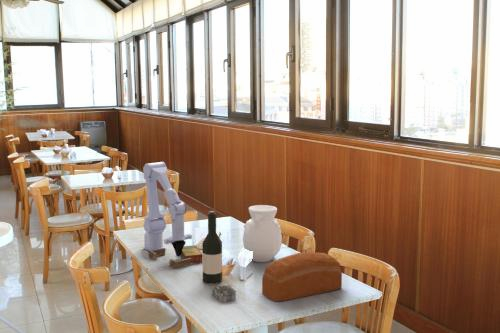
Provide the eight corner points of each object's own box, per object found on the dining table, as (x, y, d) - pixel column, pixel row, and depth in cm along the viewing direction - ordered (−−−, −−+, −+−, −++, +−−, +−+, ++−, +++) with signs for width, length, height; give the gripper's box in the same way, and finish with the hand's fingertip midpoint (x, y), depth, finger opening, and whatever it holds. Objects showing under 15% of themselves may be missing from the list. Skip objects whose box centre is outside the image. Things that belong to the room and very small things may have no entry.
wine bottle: (226, 279, 247) (225, 210, 242) (215, 285, 239) (214, 214, 235) (209, 276, 251) (209, 208, 246) (198, 281, 244) (197, 212, 239)
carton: (185, 264, 267) (185, 255, 266) (179, 254, 282) (179, 246, 282) (202, 262, 269) (202, 253, 269) (195, 252, 285) (195, 244, 284)
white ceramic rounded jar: (275, 267, 263) (275, 213, 259) (237, 262, 268) (237, 210, 265) (286, 255, 280) (286, 205, 276) (250, 251, 286) (250, 202, 282)
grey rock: (210, 294, 231) (209, 284, 230) (227, 291, 234) (227, 281, 233) (220, 303, 221) (220, 293, 220) (238, 300, 224) (238, 290, 224)
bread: (258, 292, 232) (258, 255, 230) (325, 279, 248) (326, 244, 245) (276, 304, 220) (276, 264, 218) (345, 289, 236) (346, 252, 233)
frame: (148, 257, 276) (148, 251, 276) (163, 253, 282) (163, 247, 281) (176, 268, 260) (176, 262, 259) (191, 264, 266) (191, 258, 265)
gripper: (170, 232, 264) (170, 261, 266) (195, 227, 274) (195, 254, 276) (161, 229, 269) (162, 257, 271) (186, 224, 279) (187, 251, 281)
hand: (178, 255), depth 274 cm, fingers closed
